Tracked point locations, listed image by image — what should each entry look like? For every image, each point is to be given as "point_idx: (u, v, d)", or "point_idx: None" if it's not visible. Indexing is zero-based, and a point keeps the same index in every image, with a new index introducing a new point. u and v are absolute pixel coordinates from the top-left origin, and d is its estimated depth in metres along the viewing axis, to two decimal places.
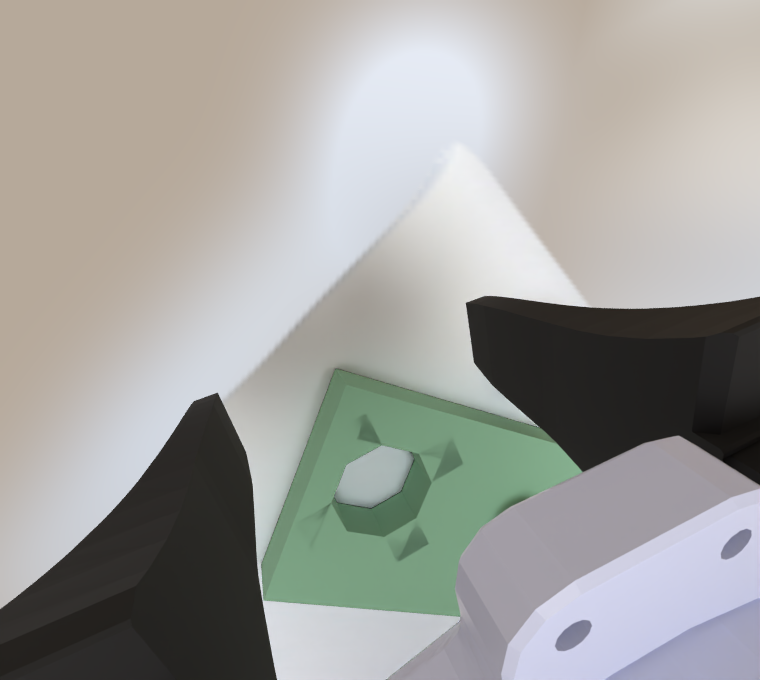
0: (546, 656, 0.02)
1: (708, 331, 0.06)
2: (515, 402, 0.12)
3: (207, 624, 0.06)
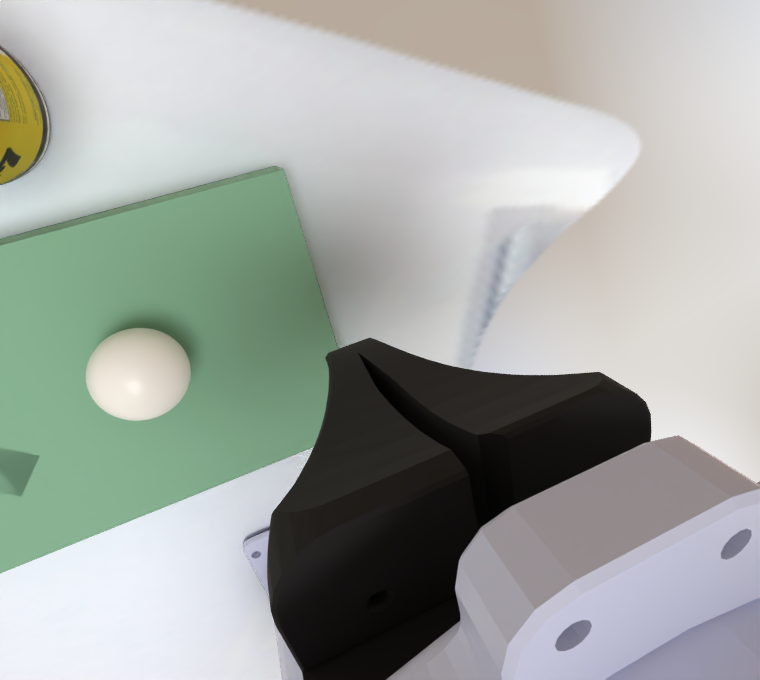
0: (547, 656, 0.02)
1: (492, 423, 0.06)
2: None
3: None
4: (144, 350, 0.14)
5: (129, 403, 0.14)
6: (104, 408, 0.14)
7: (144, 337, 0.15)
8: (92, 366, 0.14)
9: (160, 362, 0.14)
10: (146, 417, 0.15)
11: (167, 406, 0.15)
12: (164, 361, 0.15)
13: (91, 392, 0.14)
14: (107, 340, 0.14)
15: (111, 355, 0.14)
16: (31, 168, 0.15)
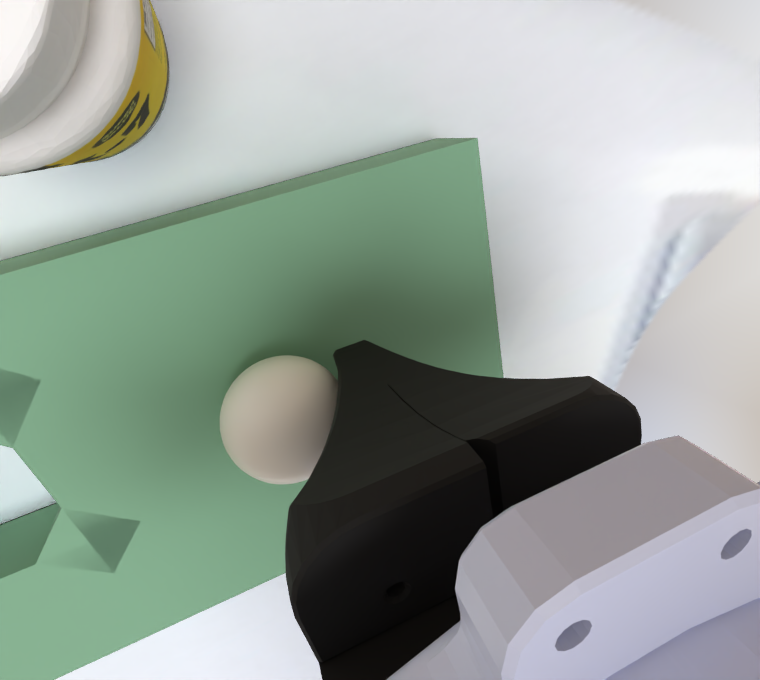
0: (547, 656, 0.02)
1: (481, 429, 0.06)
2: None
3: None
4: (305, 391, 0.10)
5: (284, 467, 0.10)
6: (246, 470, 0.10)
7: (301, 371, 0.10)
8: (234, 412, 0.10)
9: (325, 408, 0.10)
10: None
11: None
12: (329, 406, 0.10)
13: (231, 448, 0.10)
14: (251, 375, 0.10)
15: (262, 398, 0.10)
16: (143, 136, 0.11)
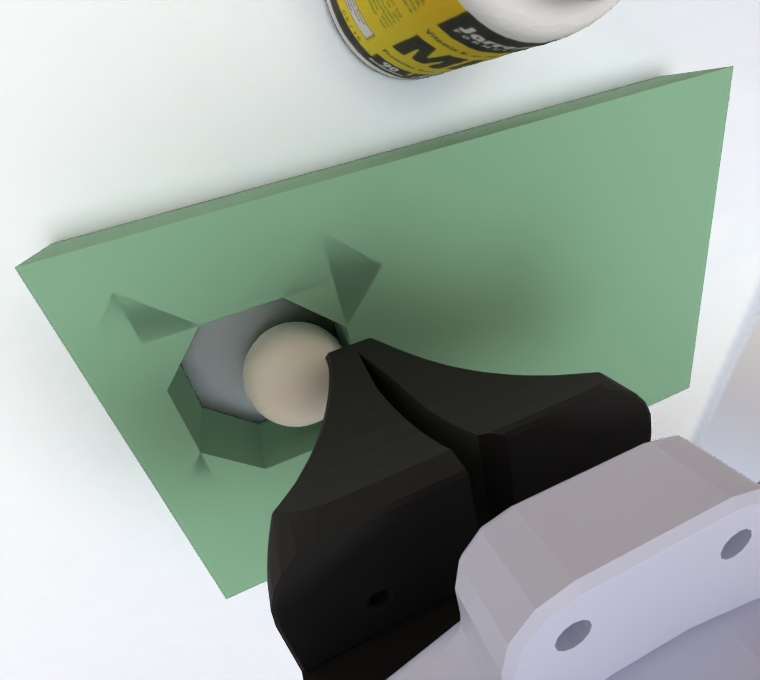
0: (546, 656, 0.02)
1: (492, 424, 0.06)
2: None
3: None
4: (323, 331, 0.13)
5: None
6: (319, 409, 0.13)
7: (306, 324, 0.13)
8: (297, 368, 0.12)
9: (335, 338, 0.14)
10: None
11: None
12: (334, 337, 0.14)
13: (305, 398, 0.12)
14: (282, 341, 0.12)
15: (310, 346, 0.12)
16: None
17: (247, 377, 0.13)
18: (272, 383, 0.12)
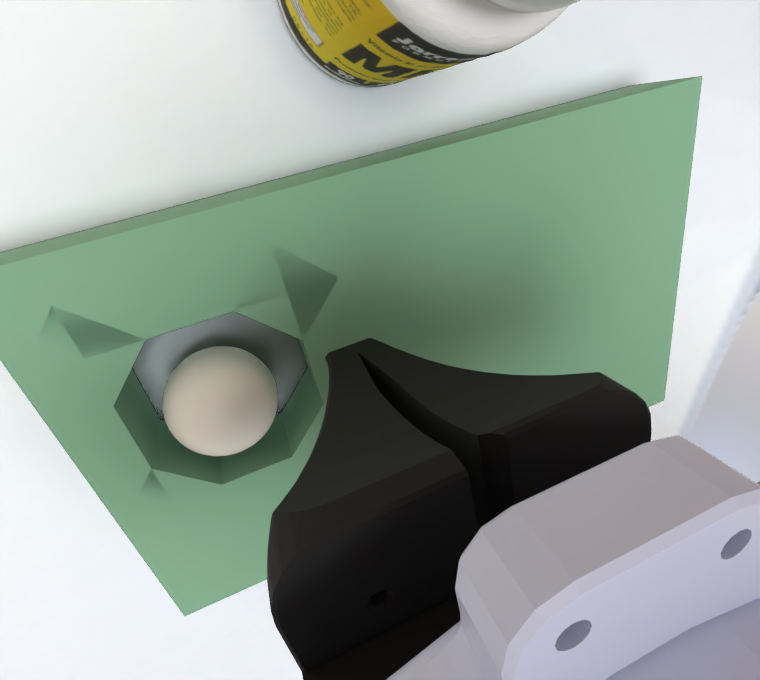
0: (546, 655, 0.02)
1: (492, 423, 0.06)
2: None
3: None
4: (239, 371, 0.12)
5: (239, 436, 0.12)
6: (205, 450, 0.12)
7: (229, 357, 0.12)
8: (183, 406, 0.12)
9: (258, 380, 0.12)
10: (250, 446, 0.13)
11: (269, 427, 0.13)
12: (261, 378, 0.13)
13: (187, 436, 0.12)
14: (186, 371, 0.12)
15: (205, 387, 0.12)
16: None
17: None
18: (165, 409, 0.12)
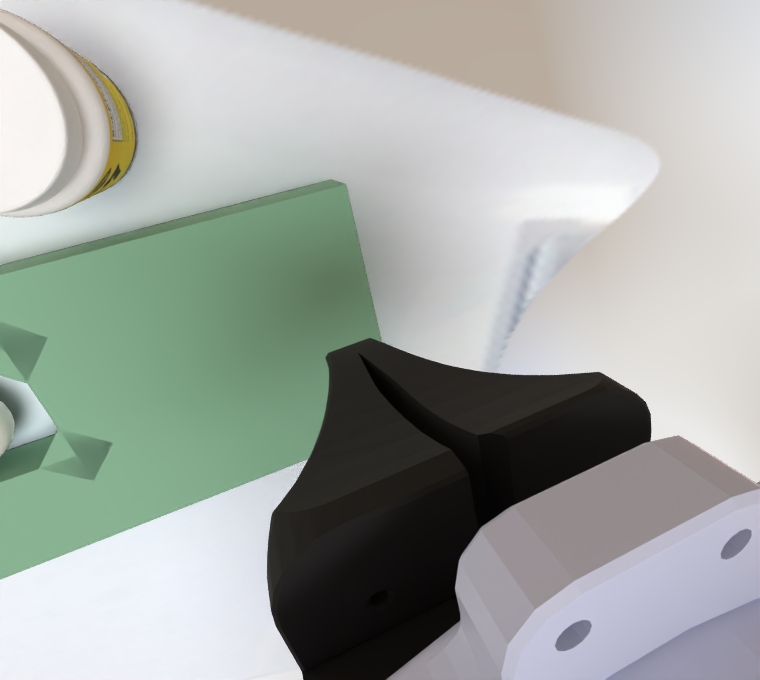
0: (547, 656, 0.02)
1: (492, 424, 0.06)
2: None
3: None
4: None
5: None
6: None
7: None
8: None
9: None
10: None
11: None
12: None
13: None
14: None
15: None
16: (119, 180, 0.17)
17: None
18: None
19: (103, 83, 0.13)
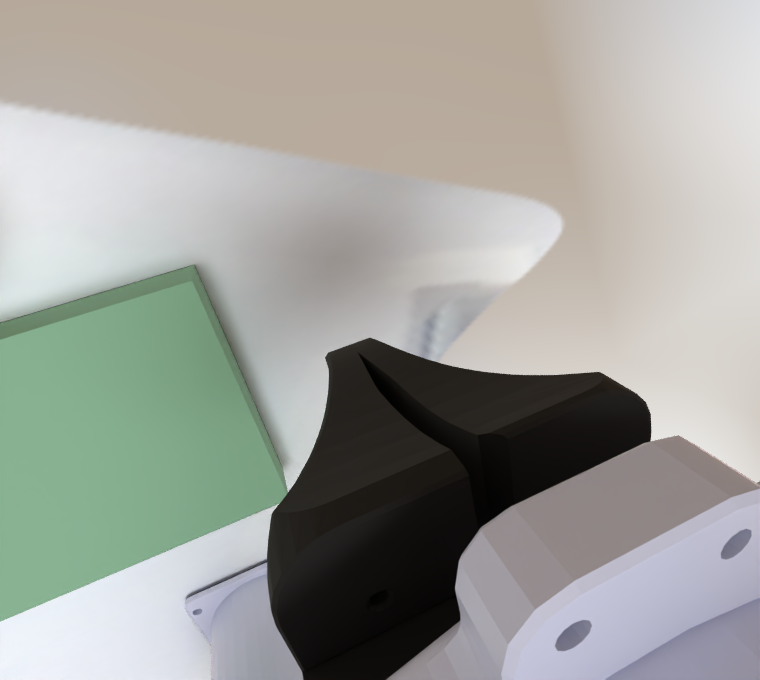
0: (546, 656, 0.02)
1: (492, 423, 0.06)
2: None
3: None
4: None
5: None
6: None
7: None
8: None
9: None
10: None
11: None
12: None
13: None
14: None
15: None
16: None
17: None
18: None
19: None
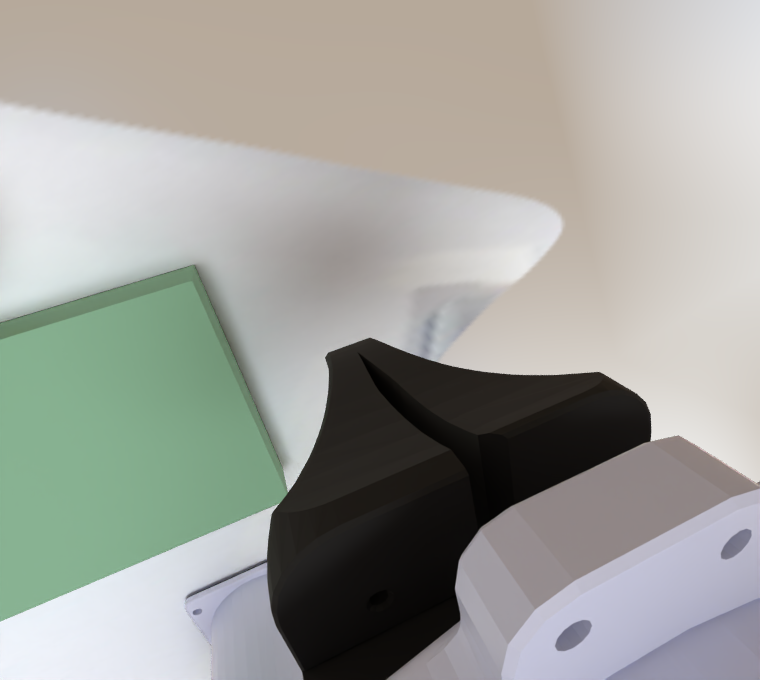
0: (546, 656, 0.02)
1: (492, 423, 0.06)
2: None
3: None
4: None
5: None
6: None
7: None
8: None
9: None
10: None
11: None
12: None
13: None
14: None
15: None
16: None
17: None
18: None
19: None
